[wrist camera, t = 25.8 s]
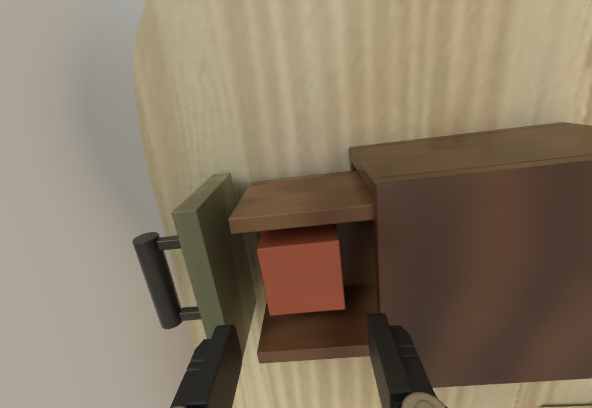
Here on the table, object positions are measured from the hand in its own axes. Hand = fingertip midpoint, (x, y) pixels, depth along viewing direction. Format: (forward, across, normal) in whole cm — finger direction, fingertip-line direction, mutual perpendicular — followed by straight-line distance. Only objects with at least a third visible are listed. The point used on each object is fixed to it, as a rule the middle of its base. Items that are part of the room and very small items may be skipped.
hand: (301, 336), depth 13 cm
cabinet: (+10, -10, 0) cm, 15 cm away
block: (+8, 0, 0) cm, 8 cm away
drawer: (+10, +1, 0) cm, 10 cm away
